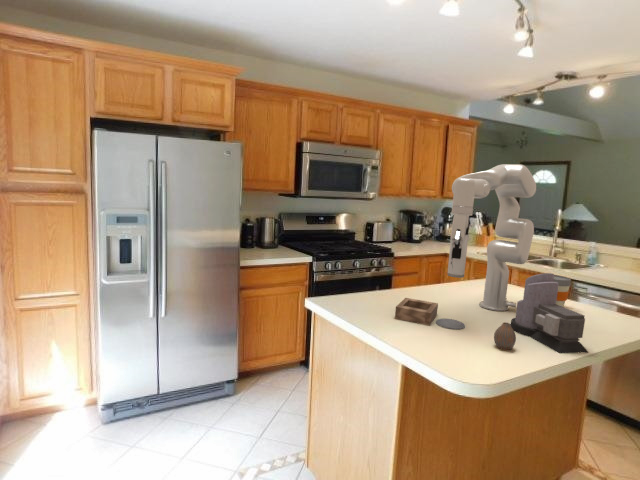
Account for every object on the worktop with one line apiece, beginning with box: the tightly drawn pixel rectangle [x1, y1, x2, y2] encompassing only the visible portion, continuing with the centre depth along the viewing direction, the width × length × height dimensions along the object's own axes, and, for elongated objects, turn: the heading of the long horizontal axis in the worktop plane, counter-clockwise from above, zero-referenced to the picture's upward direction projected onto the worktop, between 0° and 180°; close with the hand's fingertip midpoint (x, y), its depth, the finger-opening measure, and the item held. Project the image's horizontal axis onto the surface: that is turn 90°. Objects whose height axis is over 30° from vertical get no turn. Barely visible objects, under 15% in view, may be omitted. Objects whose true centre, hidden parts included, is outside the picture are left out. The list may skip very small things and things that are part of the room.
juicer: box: [510, 272, 589, 354], centre depth 155 cm, size 30×16×24 cm, turn 11°
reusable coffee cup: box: [553, 274, 572, 308], centre depth 195 cm, size 13×13×15 cm
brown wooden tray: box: [394, 297, 439, 326], centre depth 171 cm, size 14×16×5 cm
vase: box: [493, 322, 517, 351], centre depth 142 cm, size 7×7×9 cm
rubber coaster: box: [435, 318, 466, 331], centre depth 164 cm, size 11×11×1 cm
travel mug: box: [447, 226, 470, 279], centre depth 160 cm, size 6×7×20 cm
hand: (457, 256), depth 160 cm, fingers closed on travel mug, 6 cm apart
